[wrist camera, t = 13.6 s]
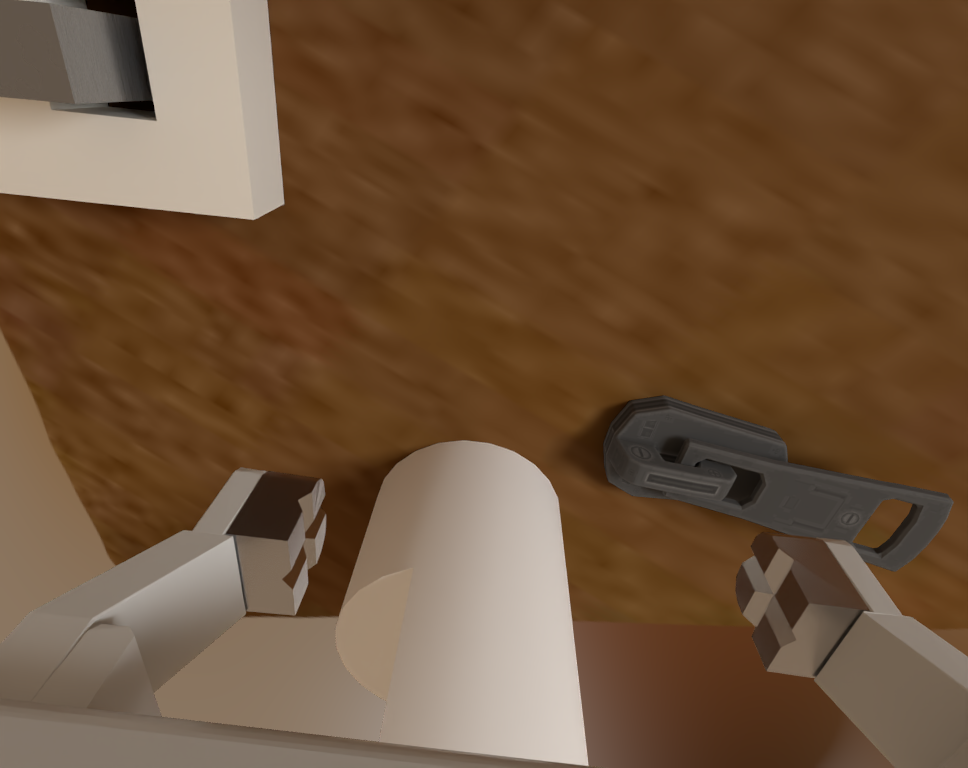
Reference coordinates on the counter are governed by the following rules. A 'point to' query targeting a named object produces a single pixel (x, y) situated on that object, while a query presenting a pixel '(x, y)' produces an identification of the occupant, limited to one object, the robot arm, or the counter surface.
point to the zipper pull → (757, 478)
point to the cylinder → (466, 608)
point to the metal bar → (70, 54)
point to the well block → (163, 122)
